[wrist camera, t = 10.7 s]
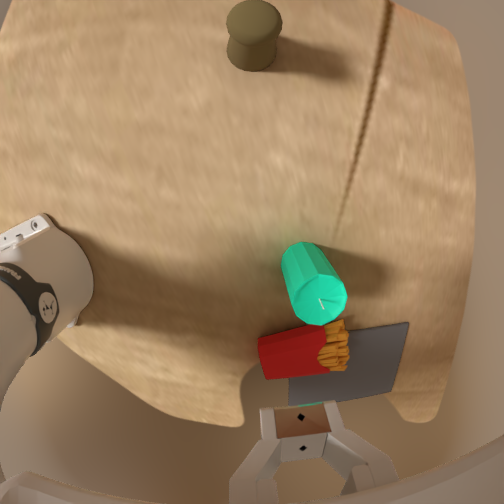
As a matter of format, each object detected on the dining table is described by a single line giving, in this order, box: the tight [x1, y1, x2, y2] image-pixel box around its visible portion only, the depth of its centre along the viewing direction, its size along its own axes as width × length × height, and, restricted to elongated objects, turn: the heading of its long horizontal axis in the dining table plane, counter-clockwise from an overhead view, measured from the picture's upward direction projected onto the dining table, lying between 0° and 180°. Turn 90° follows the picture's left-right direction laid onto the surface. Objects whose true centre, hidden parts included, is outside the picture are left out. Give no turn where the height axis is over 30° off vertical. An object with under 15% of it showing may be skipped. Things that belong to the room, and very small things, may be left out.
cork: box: [226, 0, 282, 72], centre depth 26 cm, size 6×6×11 cm
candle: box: [281, 242, 348, 326], centre depth 35 cm, size 6×6×12 cm
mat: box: [289, 322, 409, 406], centre depth 48 cm, size 20×16×1 cm
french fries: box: [258, 319, 349, 380], centre depth 43 cm, size 9×4×13 cm
